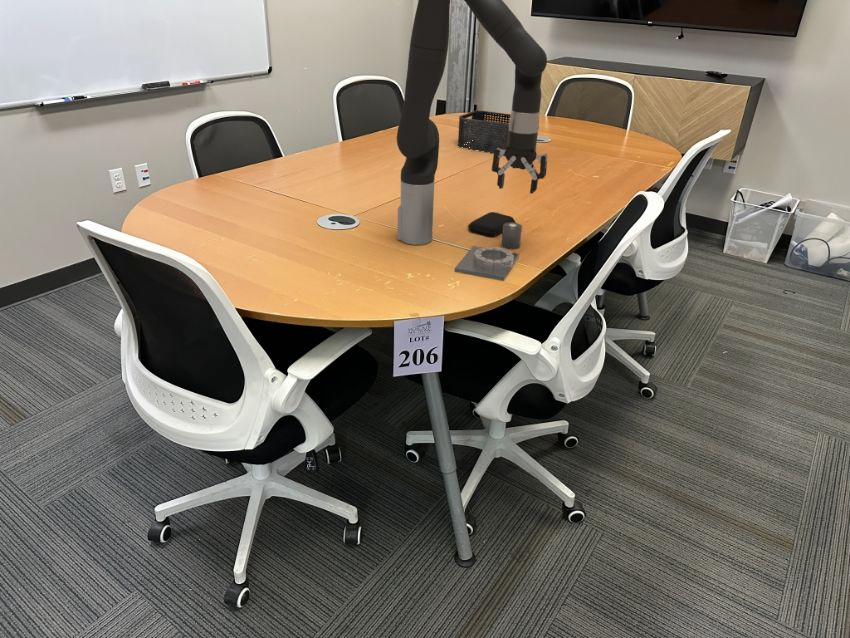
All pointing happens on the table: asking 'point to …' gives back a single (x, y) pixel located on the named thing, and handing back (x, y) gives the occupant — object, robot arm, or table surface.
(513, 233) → the dark gray cylinder
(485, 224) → the carrying case or bag
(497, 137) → the storage bin
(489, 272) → the lens mount
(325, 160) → the table surface
